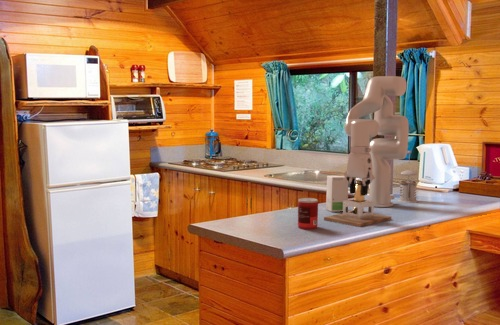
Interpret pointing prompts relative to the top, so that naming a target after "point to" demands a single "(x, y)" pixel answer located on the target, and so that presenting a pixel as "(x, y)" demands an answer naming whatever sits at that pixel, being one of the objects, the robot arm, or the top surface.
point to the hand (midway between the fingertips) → (358, 193)
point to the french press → (408, 187)
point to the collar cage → (360, 206)
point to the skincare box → (336, 193)
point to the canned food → (307, 213)
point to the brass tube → (358, 194)
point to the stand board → (356, 222)
